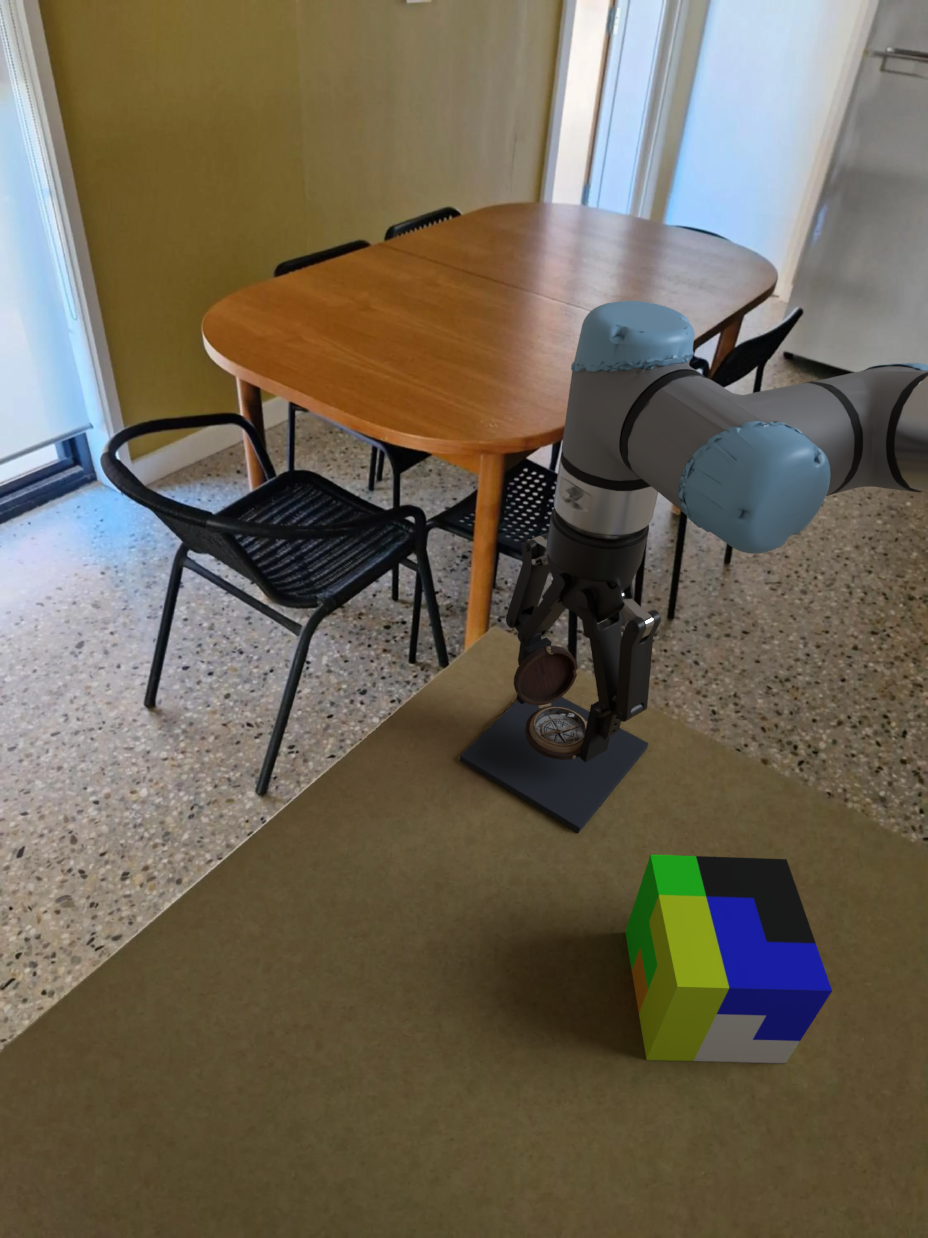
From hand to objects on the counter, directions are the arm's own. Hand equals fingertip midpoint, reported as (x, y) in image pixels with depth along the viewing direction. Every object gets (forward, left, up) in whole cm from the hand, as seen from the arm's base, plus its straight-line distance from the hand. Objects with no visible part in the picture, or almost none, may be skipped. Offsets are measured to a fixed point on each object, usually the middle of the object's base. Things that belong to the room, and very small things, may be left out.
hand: (560, 724), depth 82 cm
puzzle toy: (-24, +7, -4) cm, 26 cm away
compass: (-1, 0, 0) cm, 1 cm away
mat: (0, 0, -4) cm, 4 cm away
